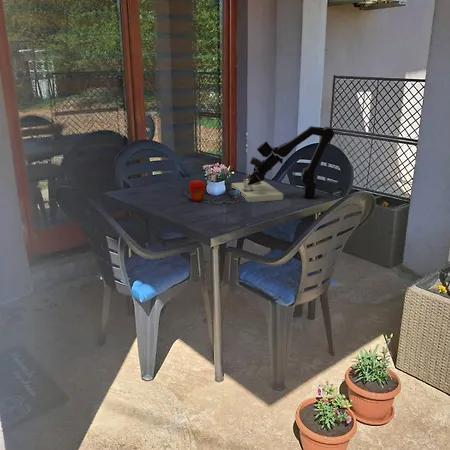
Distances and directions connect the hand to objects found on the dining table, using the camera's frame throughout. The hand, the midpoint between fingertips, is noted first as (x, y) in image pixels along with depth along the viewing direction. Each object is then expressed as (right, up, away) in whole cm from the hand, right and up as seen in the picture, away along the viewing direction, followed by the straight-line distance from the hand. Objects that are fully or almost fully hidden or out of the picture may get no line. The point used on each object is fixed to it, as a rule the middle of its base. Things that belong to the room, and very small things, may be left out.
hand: (248, 182), depth 271 cm
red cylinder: (-28, -10, -7) cm, 30 cm away
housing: (+5, -6, +6) cm, 10 cm away
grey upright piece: (0, -7, +2) cm, 7 cm away
